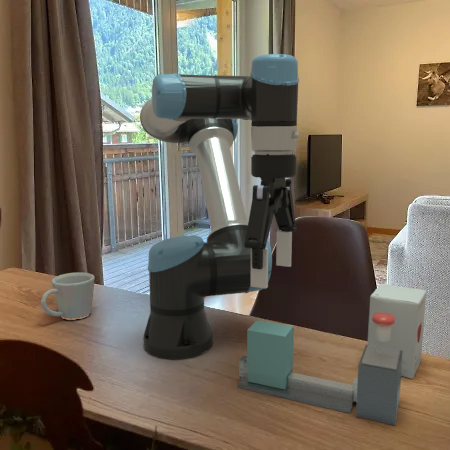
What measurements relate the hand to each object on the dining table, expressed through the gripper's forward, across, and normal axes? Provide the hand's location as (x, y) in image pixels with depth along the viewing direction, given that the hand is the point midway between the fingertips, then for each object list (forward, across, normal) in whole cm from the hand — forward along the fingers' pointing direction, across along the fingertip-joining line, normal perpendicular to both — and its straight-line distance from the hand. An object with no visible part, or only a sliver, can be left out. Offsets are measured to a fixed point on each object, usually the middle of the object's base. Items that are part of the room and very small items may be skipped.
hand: (272, 275), depth 82 cm
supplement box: (+21, +16, -20) cm, 33 cm away
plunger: (+8, 0, -19) cm, 21 cm away
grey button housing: (+20, 0, -19) cm, 28 cm away
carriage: (+21, 0, 0) cm, 21 cm away
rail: (+21, 0, -5) cm, 21 cm away
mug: (+21, +10, +57) cm, 62 cm away
